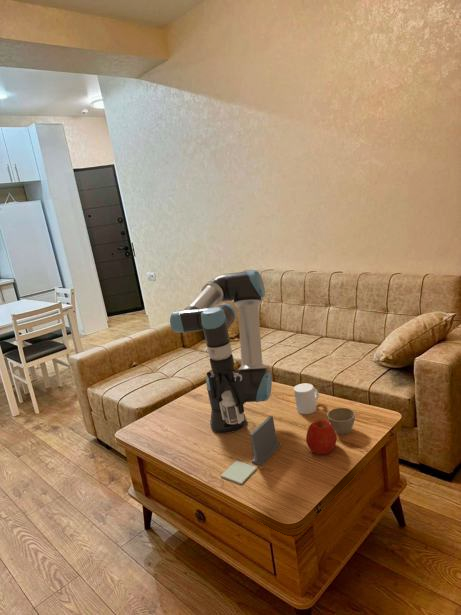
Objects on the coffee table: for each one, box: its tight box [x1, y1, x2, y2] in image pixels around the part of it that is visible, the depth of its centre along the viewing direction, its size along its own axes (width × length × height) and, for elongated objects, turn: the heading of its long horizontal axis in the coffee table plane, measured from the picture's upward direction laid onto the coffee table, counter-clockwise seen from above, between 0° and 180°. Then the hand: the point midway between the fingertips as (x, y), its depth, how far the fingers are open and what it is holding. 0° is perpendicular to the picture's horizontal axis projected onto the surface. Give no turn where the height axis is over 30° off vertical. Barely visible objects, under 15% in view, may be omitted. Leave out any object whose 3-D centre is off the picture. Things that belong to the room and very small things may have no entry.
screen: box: [249, 415, 281, 466], centre depth 150 cm, size 4×13×12 cm, turn 141°
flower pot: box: [327, 407, 356, 436], centre depth 156 cm, size 10×10×7 cm
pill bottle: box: [221, 390, 238, 424], centre depth 138 cm, size 6×6×10 cm
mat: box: [220, 460, 258, 485], centre depth 144 cm, size 9×9×1 cm
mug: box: [293, 382, 320, 415], centre depth 177 cm, size 8×10×12 cm
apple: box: [305, 419, 338, 455], centre depth 148 cm, size 11×11×11 cm
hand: (233, 419), depth 139 cm, fingers closed on pill bottle, 6 cm apart
